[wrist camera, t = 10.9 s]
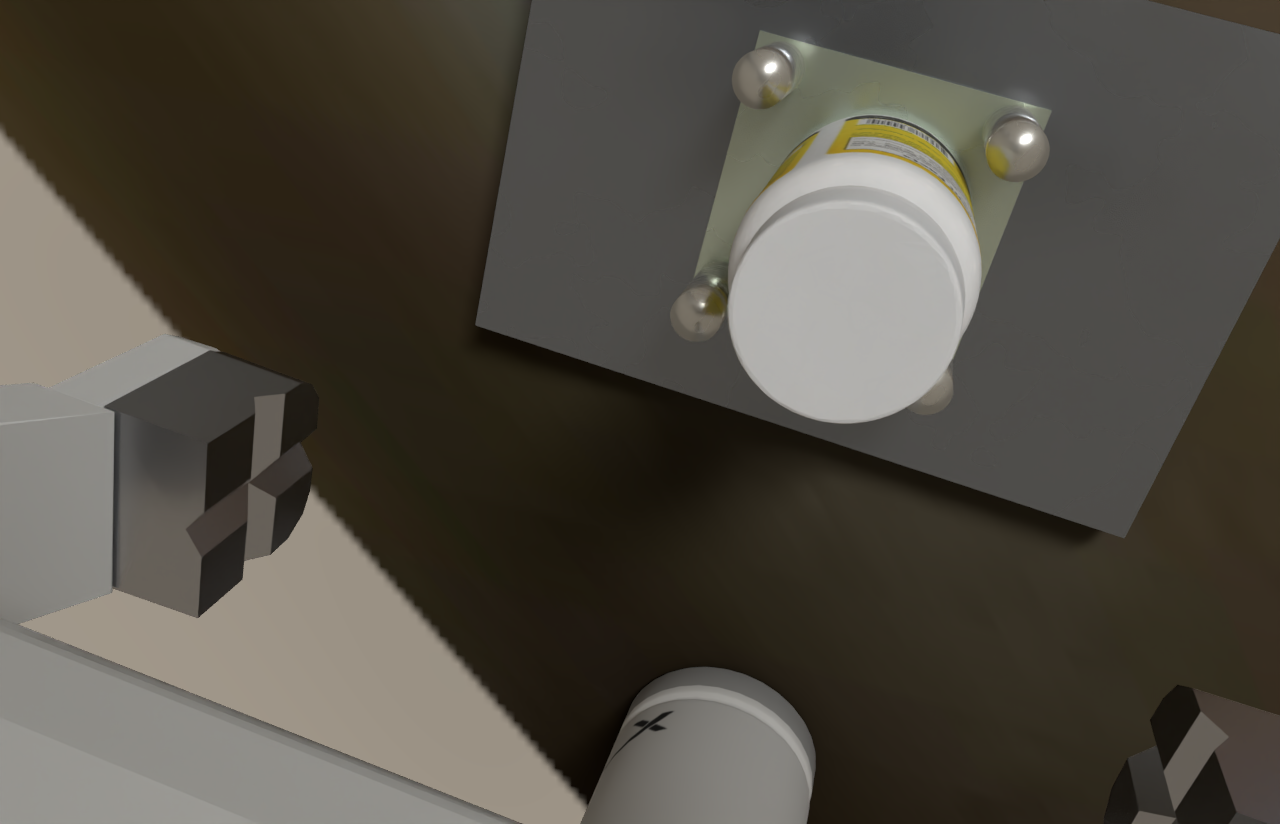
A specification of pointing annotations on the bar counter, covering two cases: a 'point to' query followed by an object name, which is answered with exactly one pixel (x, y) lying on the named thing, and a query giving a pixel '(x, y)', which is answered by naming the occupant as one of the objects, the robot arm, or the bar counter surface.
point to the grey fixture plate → (999, 190)
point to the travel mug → (707, 755)
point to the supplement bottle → (855, 271)
